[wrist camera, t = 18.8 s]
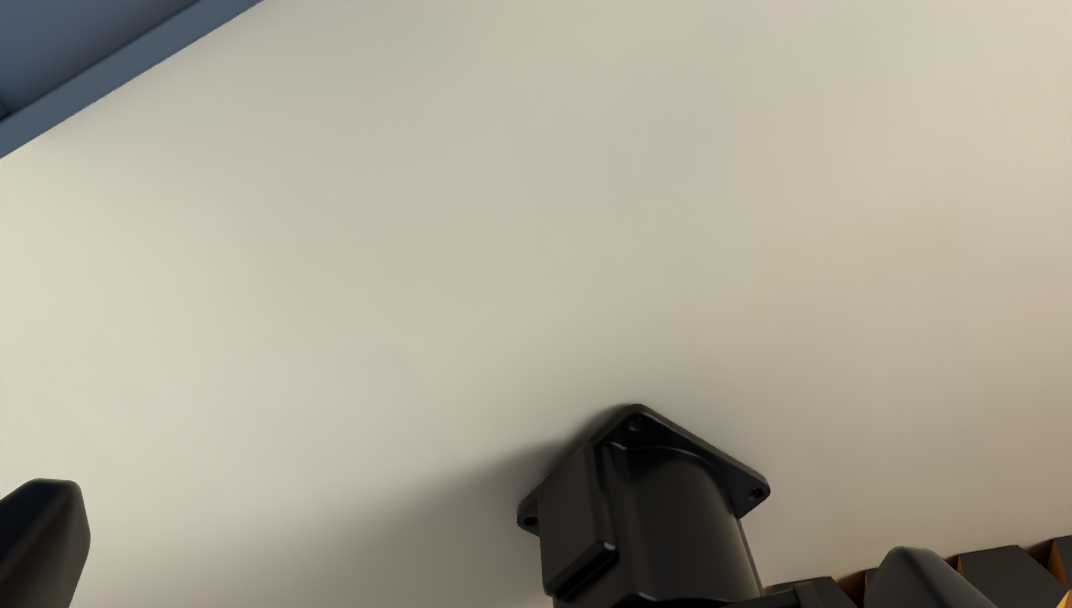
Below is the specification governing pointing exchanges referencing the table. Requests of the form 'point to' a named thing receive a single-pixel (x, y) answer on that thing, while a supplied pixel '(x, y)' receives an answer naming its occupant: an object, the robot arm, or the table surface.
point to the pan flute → (990, 578)
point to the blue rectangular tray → (87, 53)
